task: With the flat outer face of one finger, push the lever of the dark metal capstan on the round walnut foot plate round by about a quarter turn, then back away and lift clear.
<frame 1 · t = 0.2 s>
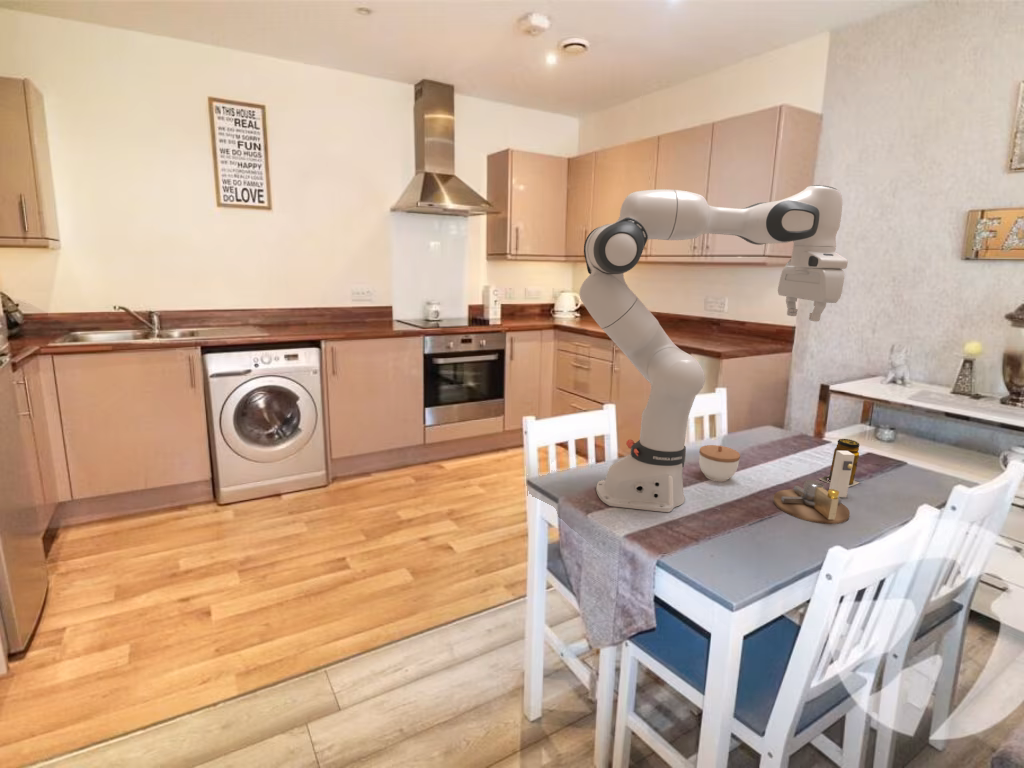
hand: (802, 318, 132), 47 cm above the table, tool pointing down, fingers open, 8 cm apart
foot plate: (810, 507, 139), on the table
lidded jar: (716, 477, 156), on the table
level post: (837, 494, 147), on the table
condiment: (838, 482, 156), on the table
capstan: (814, 491, 137), point 5 cm above the table, hinge at 0.0°
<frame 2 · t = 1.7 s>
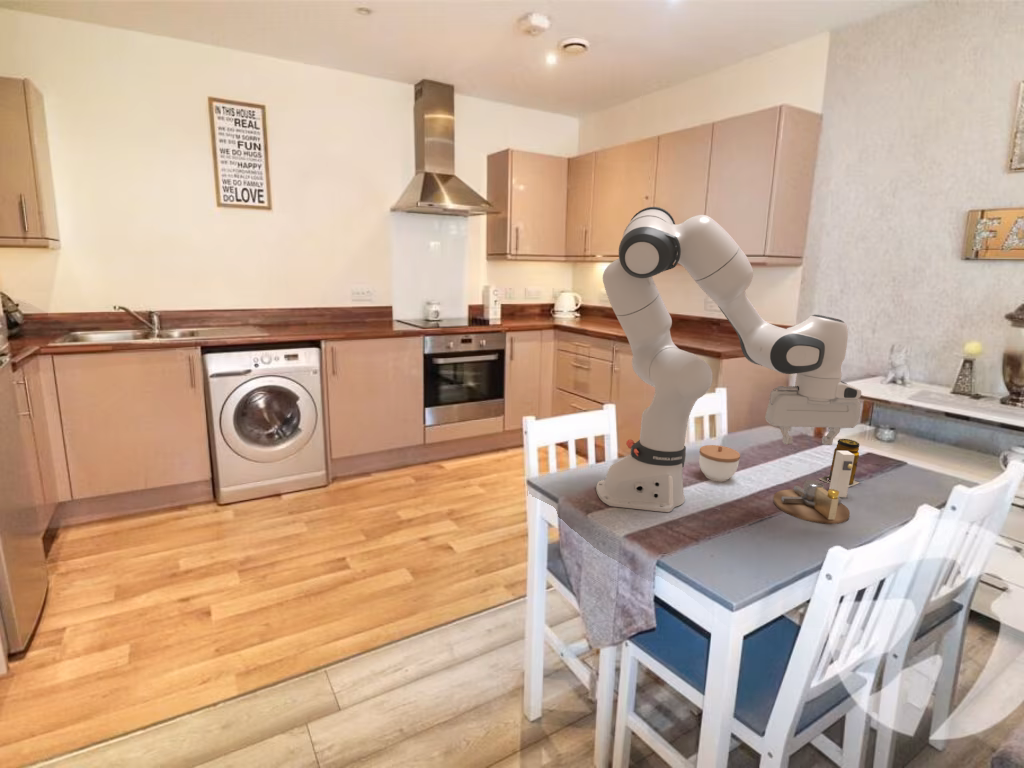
hand: (806, 444, 128), 19 cm above the table, tool pointing down, fingers open, 8 cm apart
nothing on the table moved.
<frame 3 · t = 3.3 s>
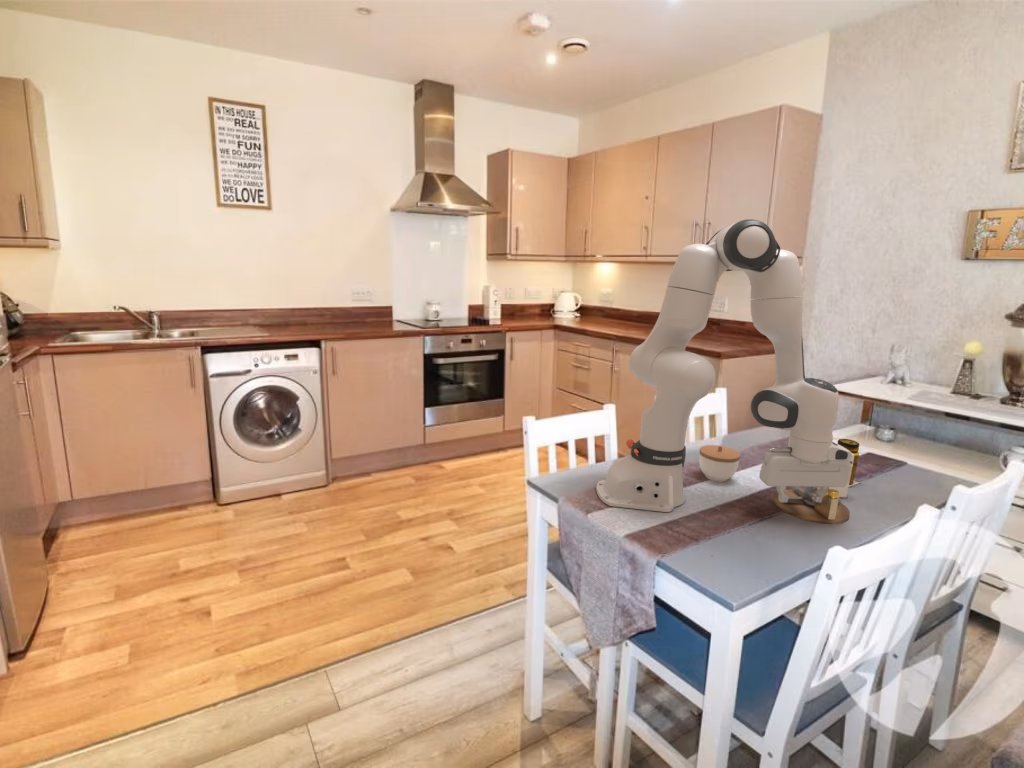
hand: (799, 501, 132), 4 cm above the table, tool pointing down, fingers open, 7 cm apart
capstan: (814, 491, 137), point 5 cm above the table, hinge at 0.0°, touching gripper
everything else where it was.
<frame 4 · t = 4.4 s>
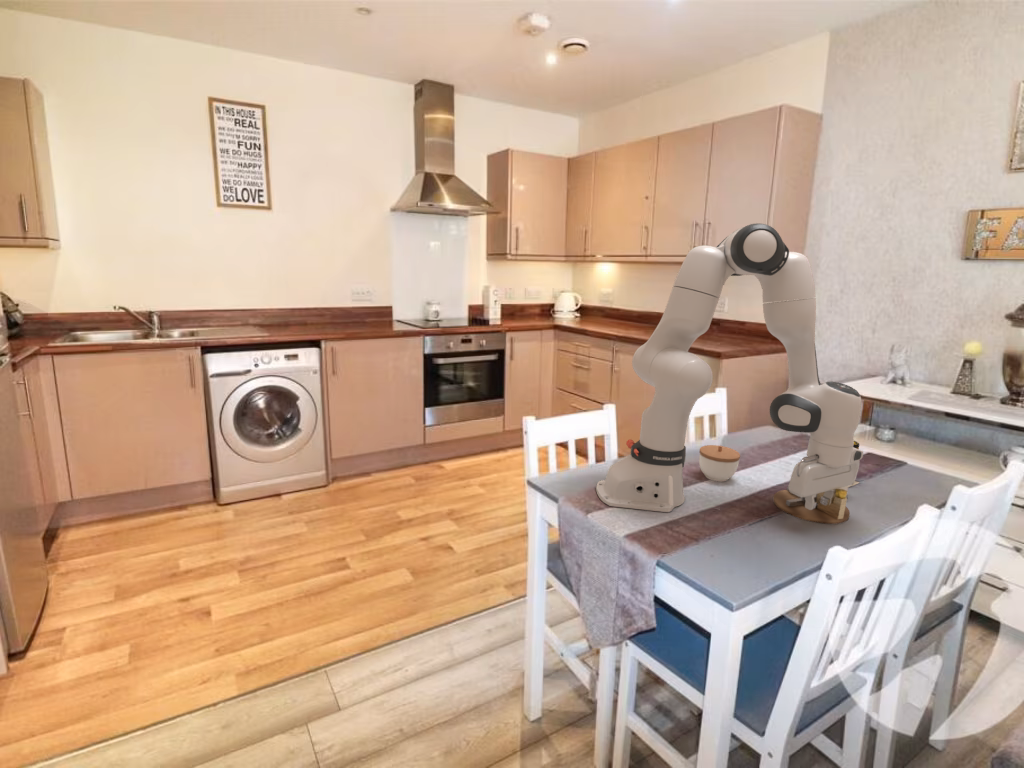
hand: (817, 506, 131), 4 cm above the table, tool pointing down, fingers open, 4 cm apart
capstan: (815, 491, 137), point 5 cm above the table, hinge at 16.2°, touching gripper
everything else where it was.
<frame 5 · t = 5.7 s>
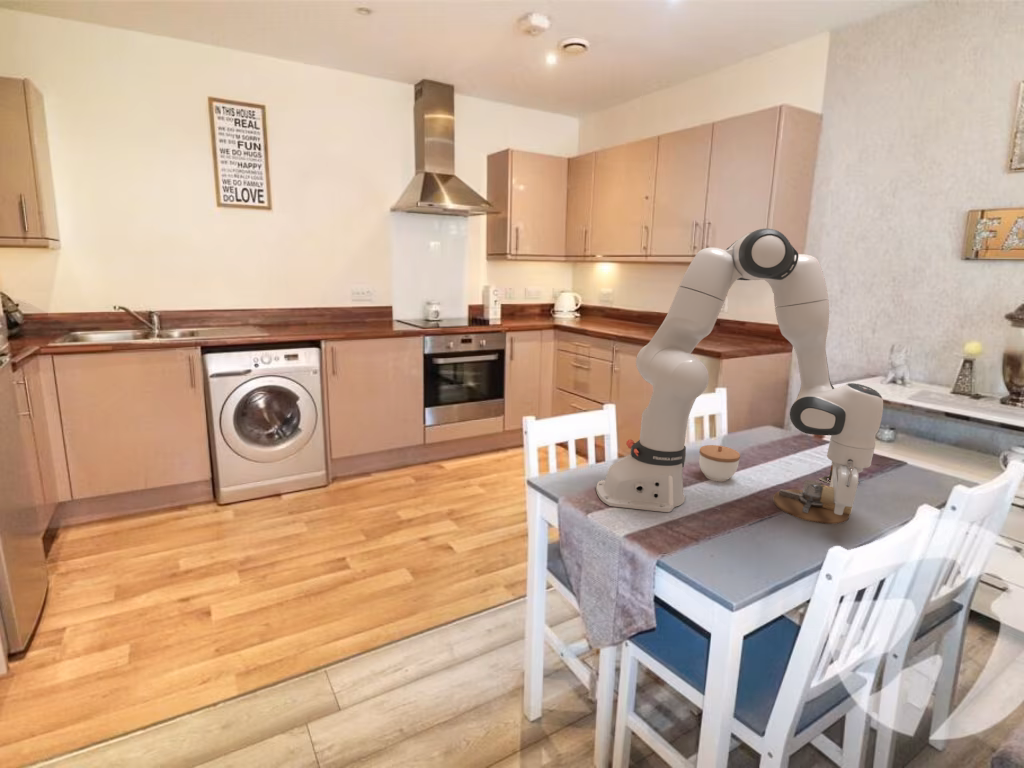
hand: (837, 508, 130), 4 cm above the table, tool pointing down, fingers open, 5 cm apart
capstan: (816, 491, 137), point 5 cm above the table, hinge at 50.3°, touching gripper
everything else where it was.
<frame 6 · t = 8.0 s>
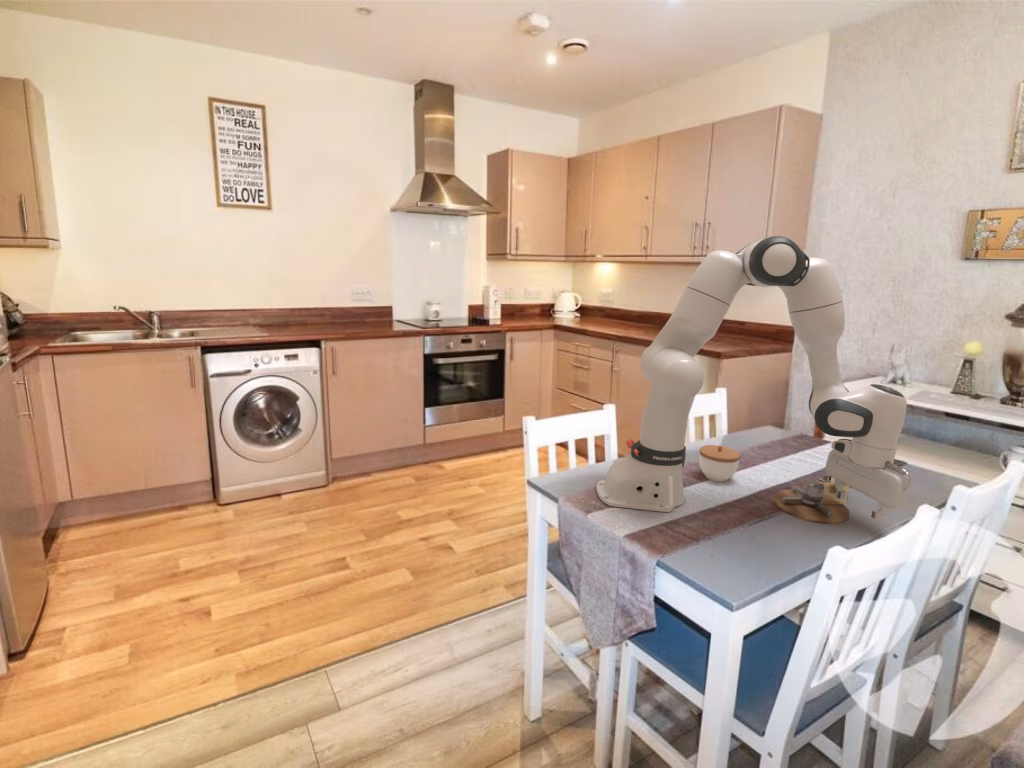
hand: (857, 508, 131), 4 cm above the table, tool pointing down, fingers open, 8 cm apart
capstan: (815, 490, 138), point 5 cm above the table, hinge at 92.7°, touching gripper
everything else where it was.
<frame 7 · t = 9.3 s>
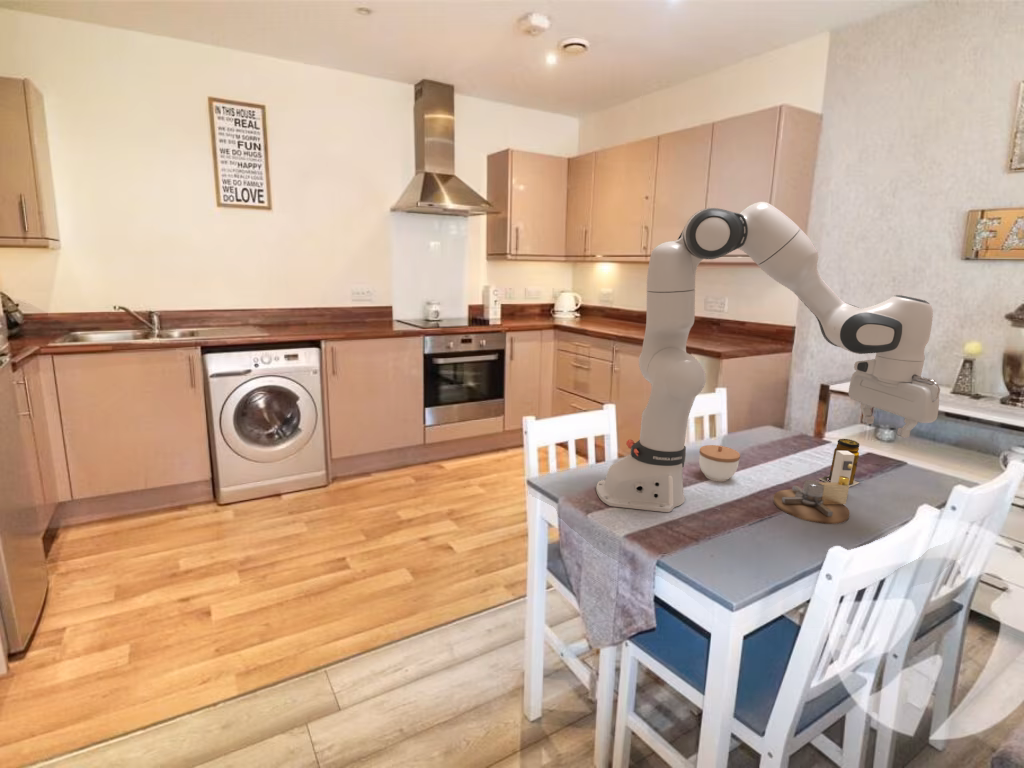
hand: (884, 429, 124), 24 cm above the table, tool pointing down, fingers open, 8 cm apart
capstan: (815, 490, 138), point 5 cm above the table, hinge at 92.7°
everything else where it was.
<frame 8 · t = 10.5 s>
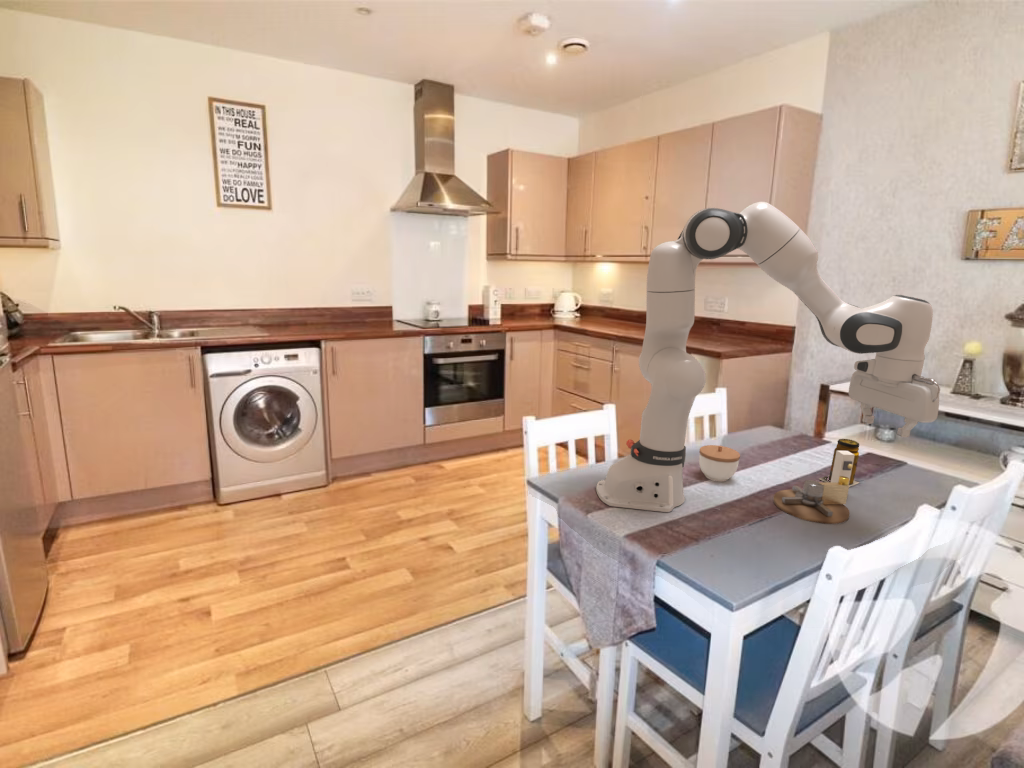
hand: (884, 429, 124), 24 cm above the table, tool pointing down, fingers open, 8 cm apart
nothing on the table moved.
at the end: capstan at +93° (first picture: +0°) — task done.
